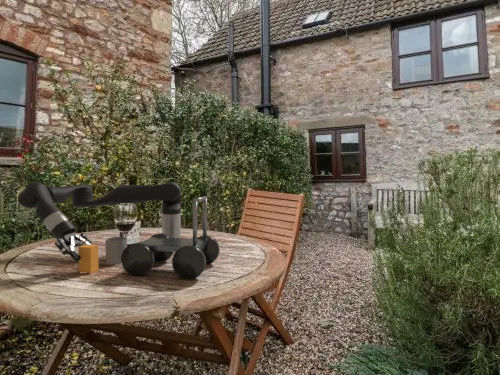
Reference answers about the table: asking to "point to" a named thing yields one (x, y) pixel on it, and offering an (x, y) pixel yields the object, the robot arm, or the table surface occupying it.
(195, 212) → the trolley
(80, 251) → the orange rectangular block
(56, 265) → the table surface
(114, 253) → the cup
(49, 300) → the table surface
